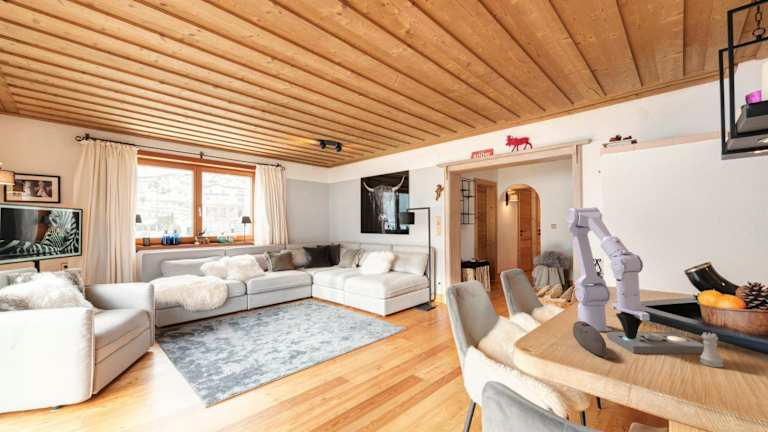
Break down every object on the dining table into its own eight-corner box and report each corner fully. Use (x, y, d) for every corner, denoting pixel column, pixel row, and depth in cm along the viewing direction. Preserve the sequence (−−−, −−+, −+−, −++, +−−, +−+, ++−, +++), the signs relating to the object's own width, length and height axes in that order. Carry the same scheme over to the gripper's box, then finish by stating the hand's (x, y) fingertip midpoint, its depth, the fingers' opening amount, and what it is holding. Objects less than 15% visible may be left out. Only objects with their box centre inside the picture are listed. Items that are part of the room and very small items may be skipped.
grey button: (641, 336, 101) (640, 333, 101) (656, 336, 101) (655, 333, 101) (651, 341, 97) (651, 337, 97) (667, 341, 97) (666, 337, 97)
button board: (607, 338, 106) (606, 332, 106) (672, 338, 104) (672, 331, 104) (633, 353, 93) (633, 346, 94) (708, 353, 91) (708, 346, 92)
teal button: (619, 340, 102) (619, 336, 102) (634, 340, 102) (634, 336, 102) (628, 344, 98) (628, 340, 98) (644, 344, 97) (643, 340, 97)
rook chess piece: (729, 368, 82) (726, 336, 82) (708, 367, 83) (706, 336, 83) (715, 361, 86) (712, 331, 87) (695, 360, 87) (693, 330, 88)
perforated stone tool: (614, 360, 89) (612, 335, 89) (593, 360, 90) (592, 334, 90) (589, 341, 104) (588, 320, 104) (572, 341, 105) (570, 319, 105)
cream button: (663, 339, 101) (663, 336, 101) (678, 339, 100) (678, 336, 100) (674, 344, 96) (674, 340, 96) (690, 344, 96) (690, 340, 96)
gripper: (659, 298, 93) (662, 346, 92) (626, 289, 107) (629, 330, 107) (633, 298, 93) (636, 346, 93) (604, 289, 108) (606, 330, 107)
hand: (631, 337), depth 100 cm, fingers closed
